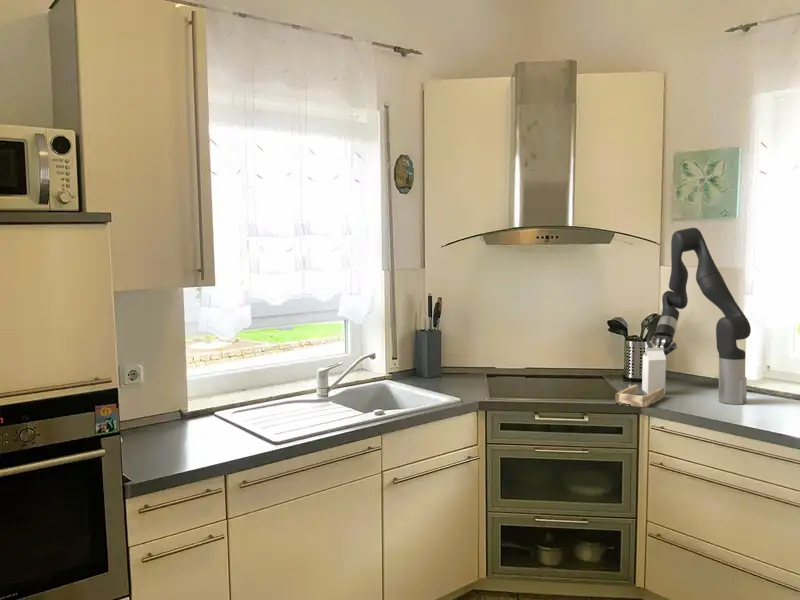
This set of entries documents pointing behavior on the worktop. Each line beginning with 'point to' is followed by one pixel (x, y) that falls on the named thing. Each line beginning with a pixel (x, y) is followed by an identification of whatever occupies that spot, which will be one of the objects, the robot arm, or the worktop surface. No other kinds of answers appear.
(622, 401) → the U-rest
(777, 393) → the worktop surface
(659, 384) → the milk carton
